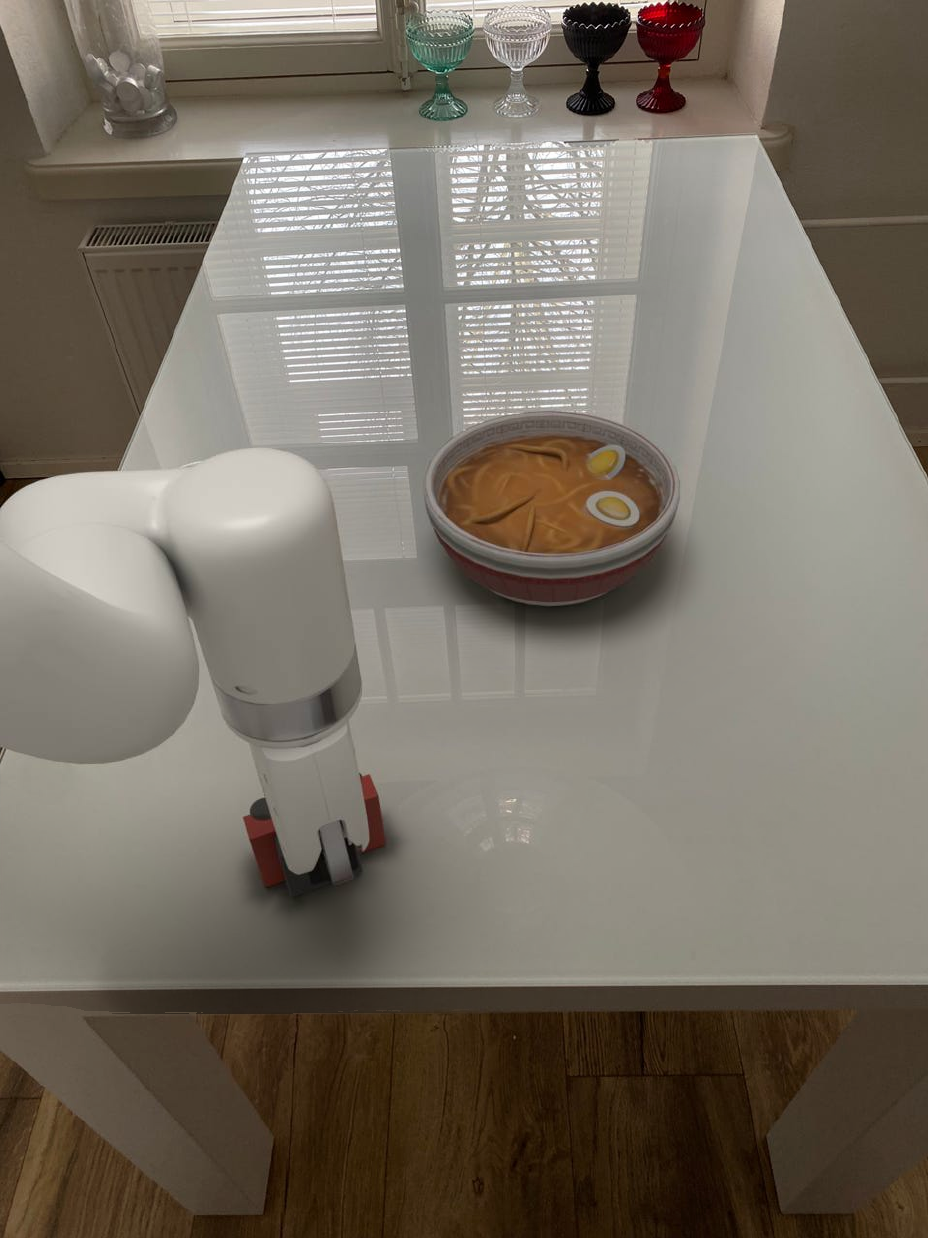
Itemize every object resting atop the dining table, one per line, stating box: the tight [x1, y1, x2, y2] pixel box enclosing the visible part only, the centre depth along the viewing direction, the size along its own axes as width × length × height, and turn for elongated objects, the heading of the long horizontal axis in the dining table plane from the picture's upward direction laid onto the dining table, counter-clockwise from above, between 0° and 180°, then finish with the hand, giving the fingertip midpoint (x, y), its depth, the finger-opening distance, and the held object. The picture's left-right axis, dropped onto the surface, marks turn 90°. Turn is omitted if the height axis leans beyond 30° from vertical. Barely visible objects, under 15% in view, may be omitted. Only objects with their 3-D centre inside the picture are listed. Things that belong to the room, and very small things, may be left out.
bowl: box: [422, 410, 681, 607], centre depth 89 cm, size 23×23×10 cm
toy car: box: [242, 772, 387, 898], centre depth 67 cm, size 9×5×6 cm, turn 112°
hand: (332, 867), depth 63 cm, fingers closed
